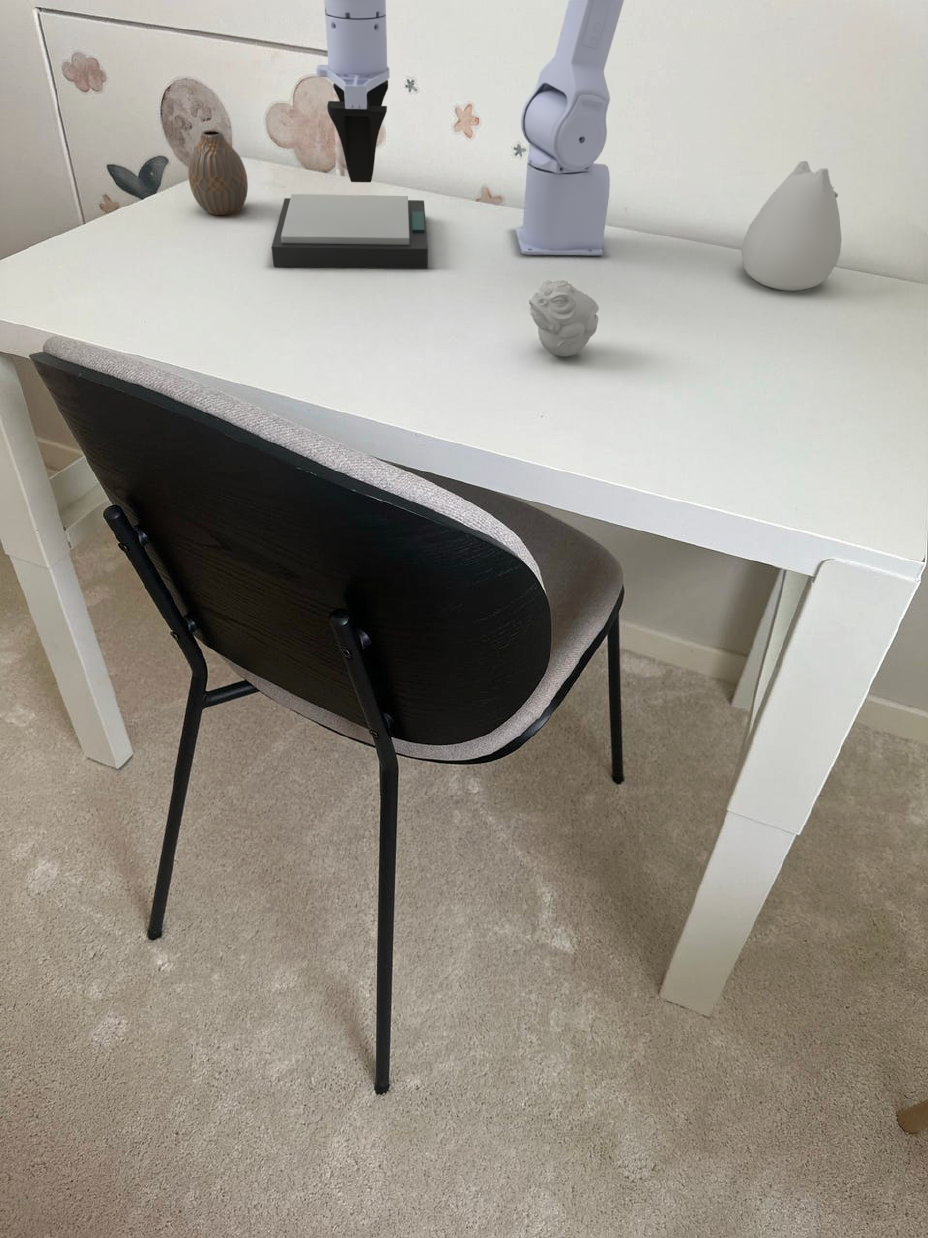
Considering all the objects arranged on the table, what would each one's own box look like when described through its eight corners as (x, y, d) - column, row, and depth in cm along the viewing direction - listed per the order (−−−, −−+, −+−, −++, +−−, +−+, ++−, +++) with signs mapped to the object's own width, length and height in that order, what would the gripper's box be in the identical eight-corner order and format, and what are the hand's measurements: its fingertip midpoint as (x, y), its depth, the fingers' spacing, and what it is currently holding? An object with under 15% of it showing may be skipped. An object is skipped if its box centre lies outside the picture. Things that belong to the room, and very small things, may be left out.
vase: (183, 215, 109) (170, 136, 103) (211, 197, 114) (199, 121, 108) (234, 222, 108) (223, 143, 102) (260, 204, 113) (251, 128, 107)
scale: (424, 218, 111) (424, 193, 109) (427, 268, 99) (427, 241, 97) (286, 216, 110) (283, 190, 108) (273, 267, 98) (270, 239, 96)
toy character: (850, 287, 99) (888, 171, 91) (783, 305, 95) (817, 185, 87) (781, 255, 106) (811, 145, 98) (716, 271, 101) (742, 157, 93)
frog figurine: (512, 345, 86) (517, 273, 81) (575, 334, 88) (584, 264, 83) (541, 374, 82) (549, 299, 77) (607, 362, 84) (618, 289, 79)
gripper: (318, -1, 89) (328, 148, 98) (306, 27, 78) (318, 191, 87) (389, 1, 89) (392, 149, 98) (387, 29, 78) (390, 192, 88)
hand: (362, 169), depth 93 cm, fingers open, 7 cm apart
